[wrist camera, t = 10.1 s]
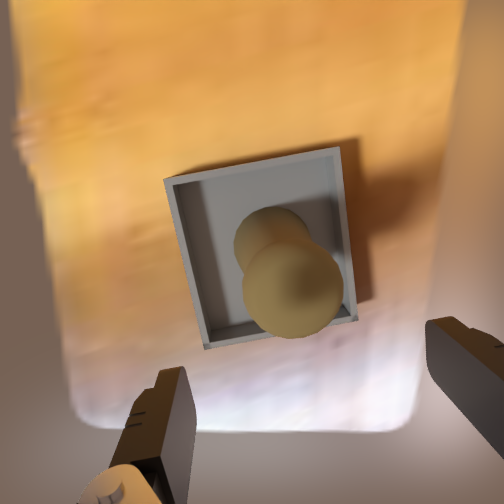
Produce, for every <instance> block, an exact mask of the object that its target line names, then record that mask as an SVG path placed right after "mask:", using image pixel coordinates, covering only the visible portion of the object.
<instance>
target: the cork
mask: <svg viewBox="0 0 504 504" xmlns="http://www.w3.org/2000/svg"><path fill="white" fill-rule="evenodd" d="M233 244H234V255H235V257H236V260H237V262H238V264H239V266H240V268H241V270H242V272H243V273H244V277H243V280H242V290H243V302H244V304H245V306H246V309H247V311H248V313H249V315H250V316H251V318H252V319H253V320H254V321H255V322H256V323H257V324H258V325H259V326H260V328H261V329H263V330H265V331H267V332H268V333H270V334H272V335H274V336H277V337H282V338H287V339H293V338H304V337H307V336H310V335H312V334H315V333H318V332H319V331H320V330H322V329H323V328H324V327H326V326H327V325H328V324H330V322H331V321H332V320H333V318H334V317H335V316H336V314H337V313H338V312H339V309H340V306H341V303H342V300H343V294H344V282H343V278H342V275H341V272H340V269H339V266H338V264H337V263H336V261H335V260H334V259H333V257H332V256H331V255H330V254H329V252H327V251H326V250H325V249H323V248H322V247H320V246H319V245H317V244H316V243H314V242H313V241H312V238H311V236H310V233H309V230H308V228H307V225H306V224H305V223H304V222H303V220H302V219H301V218H300V216H298V215H297V214H295V213H294V212H292V211H290V210H288V209H285V208H281V207H264V208H262V209H259V210H257V211H254V212H252V213H251V214H250V215H249V216H247V217H246V218H245V219H244V220H243V221H242V222H241V224H240V226H239V227H238V229H237V230H236V234H235V238H234V242H233Z"/></svg>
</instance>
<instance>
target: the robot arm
mask: <svg viewBox="0 0 504 504" xmlns="http://www.w3.org/2000/svg"><path fill="white" fill-rule="evenodd" d="M425 336H426V360H427V367H428V370H429V372H430V375H431V377H432V378H433V380H434V382H436V384H437V385H438V386H439V387H440V388H441V390H442V391H443V392H444V393H445V394H446V395H447V396H448V397H449V399H450V400H451V401H452V402H453V403H454V404H455V405H456V406H457V407H458V409H459V410H460V411H461V412H462V413H463V414H464V415H465V416H466V418H467V419H468V420H469V421H470V422H471V423H472V424H473V426H474V427H475V428H476V429H477V430H478V431H479V432H480V433H481V434H482V436H483V437H484V438H485V439H486V440H487V441H488V442H489V443H490V445H491V446H492V447H493V448H494V449H495V450H496V451H497V452H498V454H499V455H500V456H501V457H502V458H503V459H504V344H503V343H502V342H500V341H499V340H498V339H496V338H495V337H493V336H492V335H490V334H487V333H485V332H482V331H480V330H477V329H474V328H471V329H469V328H468V327H467V326H465V325H464V324H463V323H461V322H460V321H458V320H457V319H456V318H454V317H452V316H449V317H444V318H438V319H433V320H428V321H427V322H426V324H425ZM196 425H197V418H196V409H195V404H194V400H193V396H192V393H191V389H190V385H189V381H188V378H187V374H186V371H185V368H184V367H183V366H180V367H175V368H170V369H164V370H160V371H159V374H158V377H157V380H156V383H155V386H154V388H149V389H145V390H144V391H143V392H142V393H141V395H140V396H139V397H138V398H137V399H136V400H135V401H134V404H133V406H132V409H131V412H130V414H129V417H128V419H127V422H126V424H125V428H124V430H123V432H122V435H121V437H120V440H119V442H118V445H117V448H116V450H115V453H114V455H113V458H112V461H111V463H110V466H109V468H108V469H107V470H105V471H104V472H102V473H100V474H99V475H98V476H96V477H95V478H94V479H93V480H92V481H91V482H90V483H89V484H88V485H87V487H86V488H85V489H84V491H83V493H82V494H81V496H80V499H79V502H78V503H77V504H187V497H188V489H189V481H190V473H191V465H192V457H193V450H194V442H195V434H196Z"/></svg>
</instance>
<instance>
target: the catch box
mask: <svg viewBox="0 0 504 504" xmlns="http://www.w3.org/2000/svg"><path fill="white" fill-rule="evenodd" d="M163 181H164V185H165V189H166V193H167V197H168V202H169V206H170V210H171V214H172V218H173V222H174V226H175V230H176V235H177V239H178V243H179V247H180V251H181V255H182V259H183V263H184V268H185V272H186V276H187V280H188V284H189V288H190V292H191V296H192V301H193V305H194V309H195V313H196V317H197V321H198V325H199V329H200V334H201V338H202V342H203V346H204V350H207V349H212V348H217V347H223V346H228V345H233V344H238V343H244V342H249V341H254V340H259V339H265V338H270V337H275V336H274V335H272V334H270V333H268V332H267V331H265V330H263V329H261V328H260V326H259V325H258V324H257V323H256V322H255V321H254V320H253V319H252V318H251V316H250V315H249V313H248V311H247V309H246V306H245V304H244V302H243V290H242V280H243V277H244V273H243V272H242V270H241V268H240V266H239V264H238V262H237V260H236V257H235V255H234V244H233V242H234V238H235V234H236V230H237V229H238V227H239V226H240V224H241V222H242V221H243V220H244V219H245V218H246V217H247V216H249V215H250V214H251V213H252V212H254V211H257V210H259V209H262V208H264V207H281V208H285V209H288V210H290V211H292V212H294V213H295V214H297V215H298V216H300V218H301V219H302V220H303V222H304V223H305V224H306V225H307V228H308V230H309V233H310V236H311V238H312V241H313V242H314V243H316V244H317V245H319V246H320V247H322V248H323V249H325V250H326V251H327V252H329V254H330V255H331V256H332V257H333V259H334V260H335V261H336V263H337V264H338V266H339V269H340V272H341V275H342V278H343V282H344V294H343V300H342V303H341V306H340V309H339V312H338V313H337V314H336V316H335V317H334V318H333V320H332V321H331V322H330V324H328V325H327V326H326V327H328V326H333V325H338V324H343V323H349V322H354V321H358V311H357V302H356V293H355V284H354V275H353V265H352V256H351V247H350V238H349V229H348V219H347V210H346V201H345V192H344V183H343V173H342V164H341V155H340V146H338V147H329V148H324V149H319V150H313V151H308V152H303V153H297V154H292V155H287V156H281V157H276V158H270V159H265V160H260V161H254V162H249V163H244V164H238V165H233V166H228V167H222V168H217V169H211V170H206V171H201V172H195V173H190V174H185V175H179V176H174V177H169V178H166V179H163Z"/></svg>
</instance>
